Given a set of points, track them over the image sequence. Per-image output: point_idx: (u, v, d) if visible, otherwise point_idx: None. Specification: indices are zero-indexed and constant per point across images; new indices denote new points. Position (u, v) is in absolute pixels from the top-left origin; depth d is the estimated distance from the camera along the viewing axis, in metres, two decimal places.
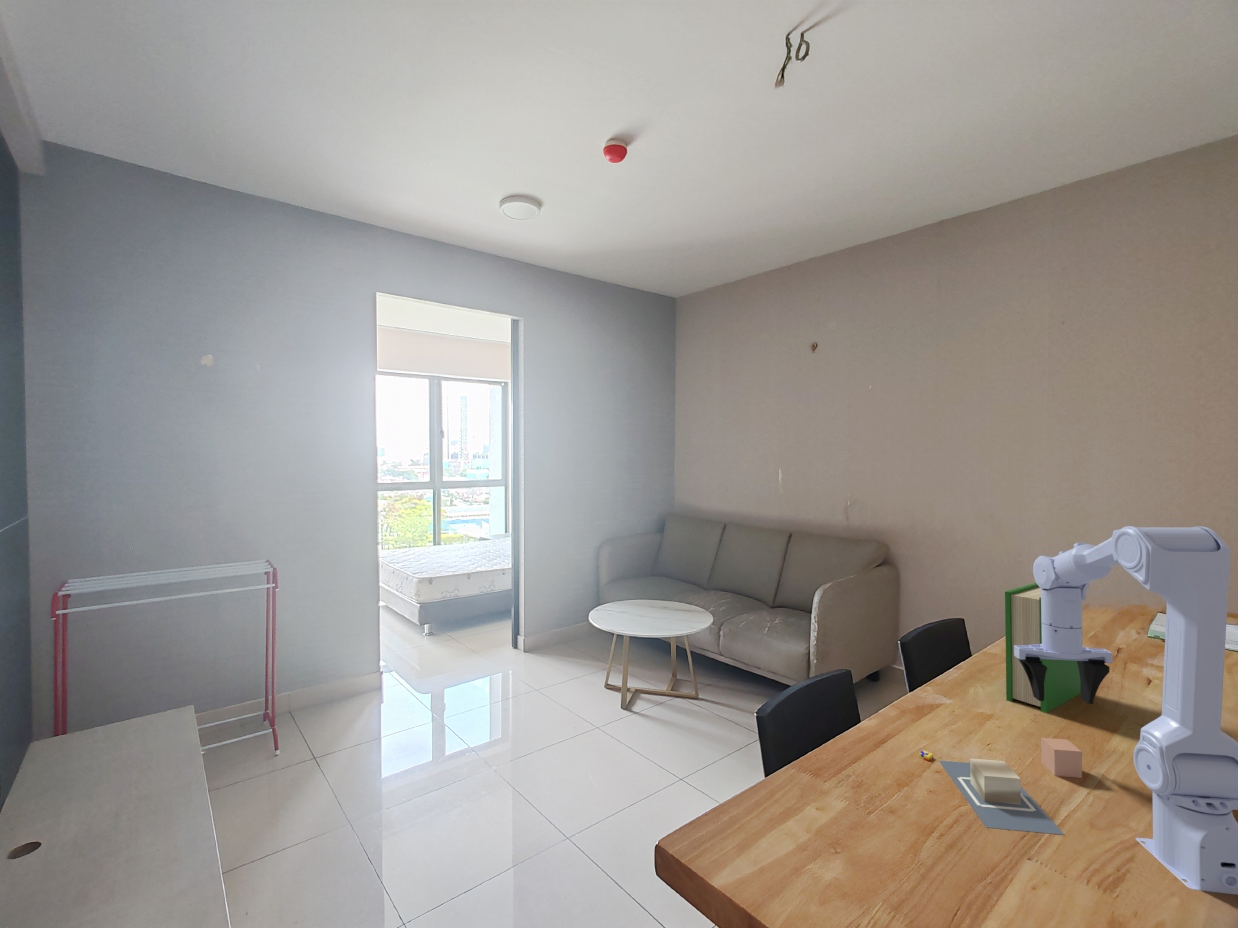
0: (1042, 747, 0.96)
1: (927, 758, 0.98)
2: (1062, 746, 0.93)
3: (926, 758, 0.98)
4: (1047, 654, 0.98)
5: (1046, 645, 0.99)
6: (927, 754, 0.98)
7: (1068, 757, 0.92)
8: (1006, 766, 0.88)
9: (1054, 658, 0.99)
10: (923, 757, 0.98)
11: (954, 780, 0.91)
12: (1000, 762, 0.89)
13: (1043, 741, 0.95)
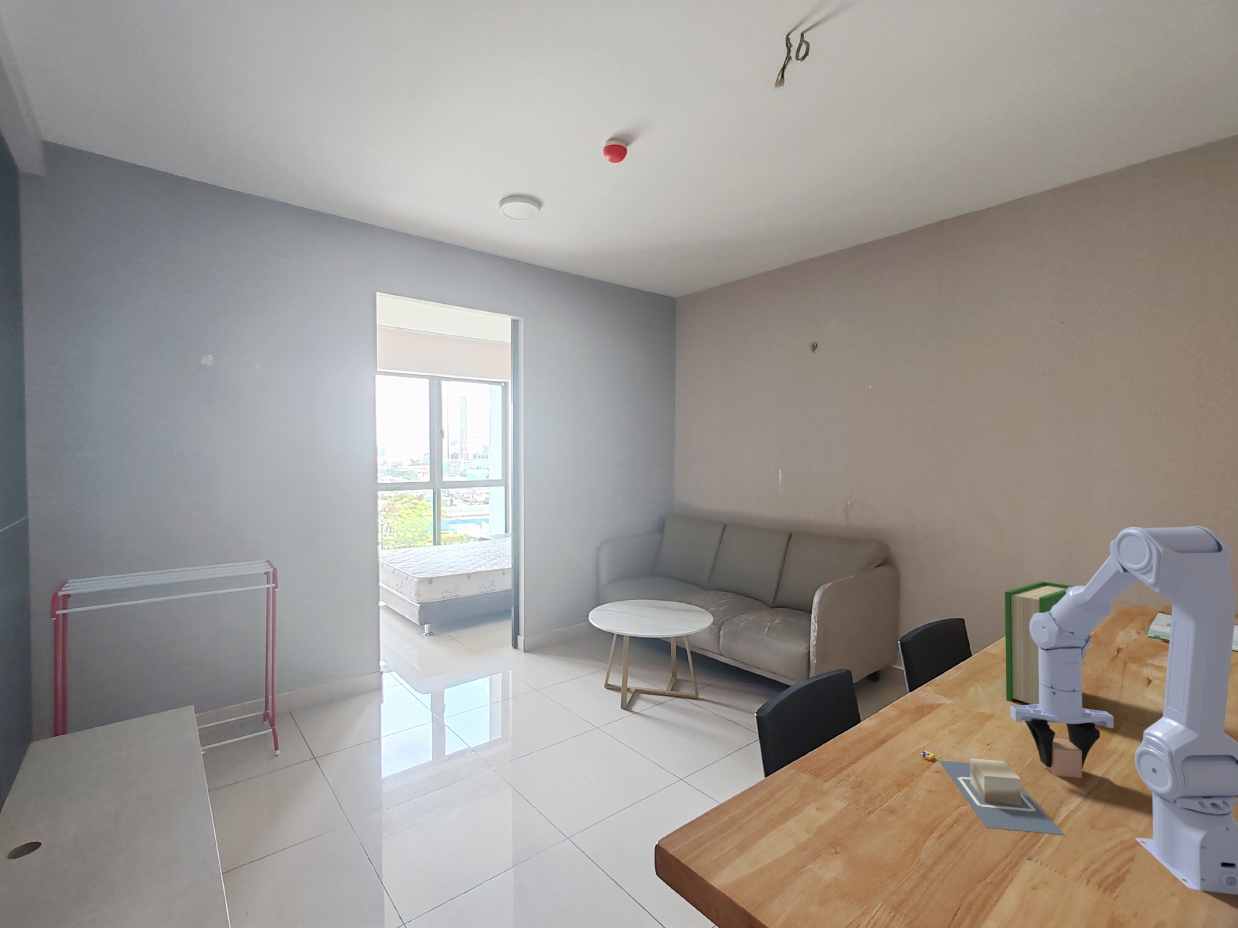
0: None
1: (929, 758, 0.97)
2: (1062, 745, 0.93)
3: (928, 758, 0.98)
4: (1045, 717, 0.93)
5: (1044, 707, 0.94)
6: (929, 754, 0.98)
7: (1068, 757, 0.92)
8: (1006, 766, 0.88)
9: (1052, 721, 0.94)
10: (925, 757, 0.98)
11: (954, 780, 0.91)
12: (1000, 762, 0.89)
13: None
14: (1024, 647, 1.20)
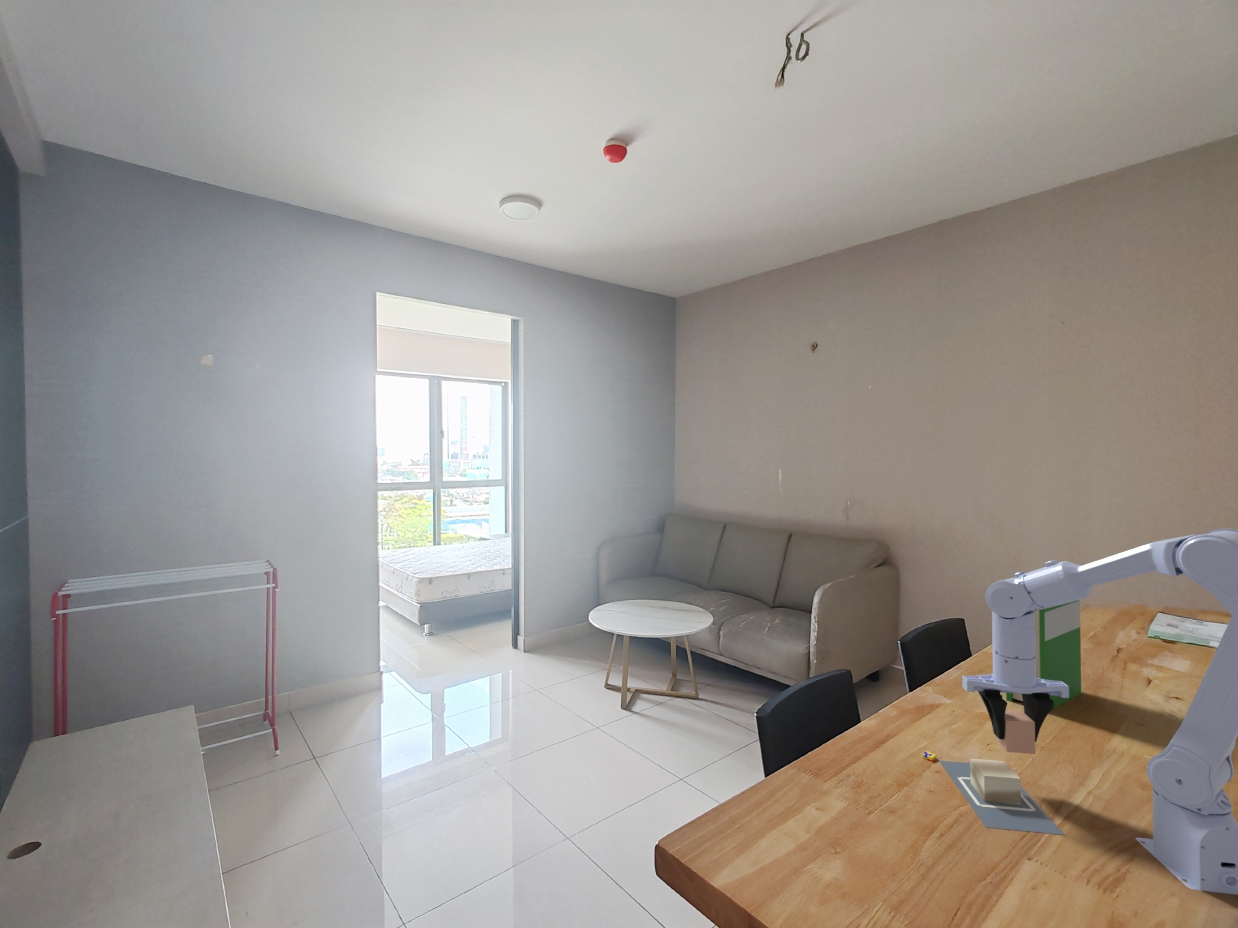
0: None
1: (930, 759, 0.97)
2: (1015, 717, 0.89)
3: (929, 759, 0.97)
4: (997, 687, 0.88)
5: (996, 677, 0.89)
6: (931, 755, 0.98)
7: (1021, 729, 0.88)
8: (1006, 766, 0.88)
9: (1005, 691, 0.90)
10: (926, 758, 0.98)
11: (954, 780, 0.91)
12: (1000, 762, 0.89)
13: None
14: None
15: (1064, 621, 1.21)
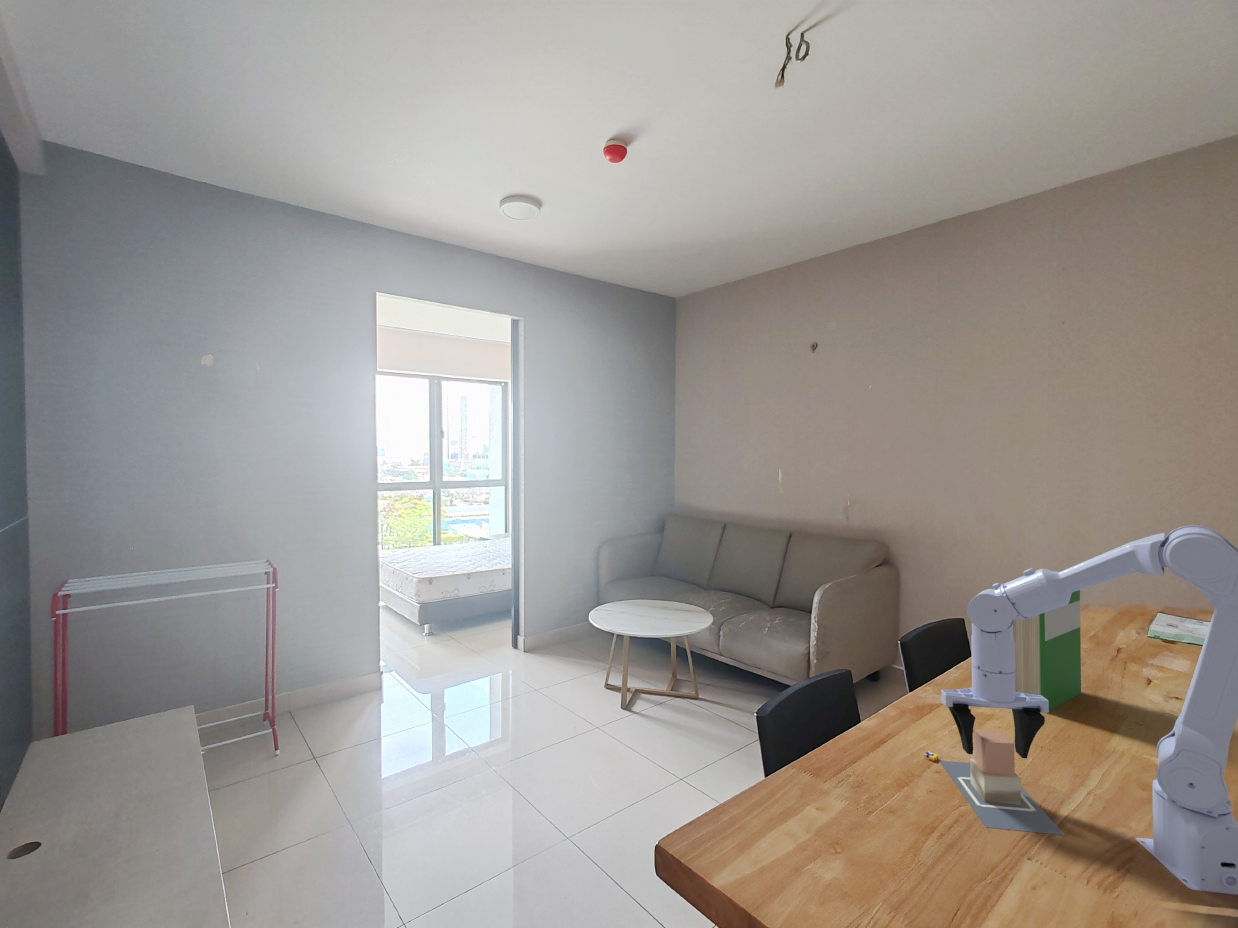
0: (975, 739, 0.90)
1: (932, 759, 0.97)
2: (995, 738, 0.87)
3: (931, 759, 0.97)
4: (976, 702, 0.86)
5: (976, 691, 0.87)
6: (932, 755, 0.98)
7: (1000, 750, 0.86)
8: None
9: (984, 706, 0.88)
10: (928, 758, 0.98)
11: (954, 780, 0.91)
12: None
13: (976, 733, 0.89)
14: (1024, 647, 1.20)
15: (1064, 621, 1.21)
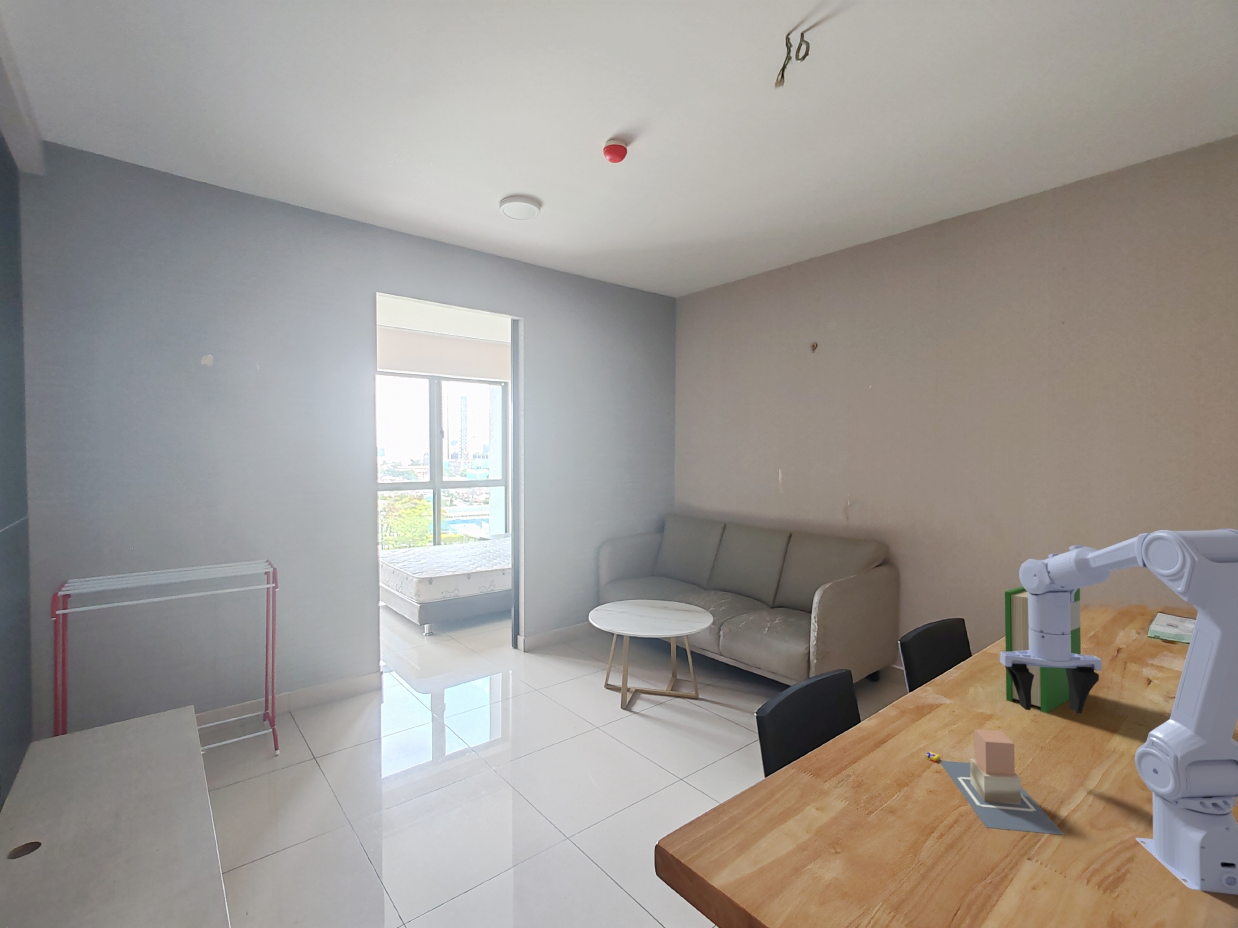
0: (975, 739, 0.90)
1: (934, 759, 0.97)
2: (995, 738, 0.87)
3: (933, 759, 0.97)
4: (1034, 661, 0.94)
5: (1033, 652, 0.95)
6: (934, 755, 0.98)
7: (1000, 750, 0.86)
8: None
9: (1041, 666, 0.95)
10: (930, 758, 0.98)
11: (954, 780, 0.91)
12: None
13: (976, 733, 0.89)
14: (1024, 647, 1.20)
15: None
